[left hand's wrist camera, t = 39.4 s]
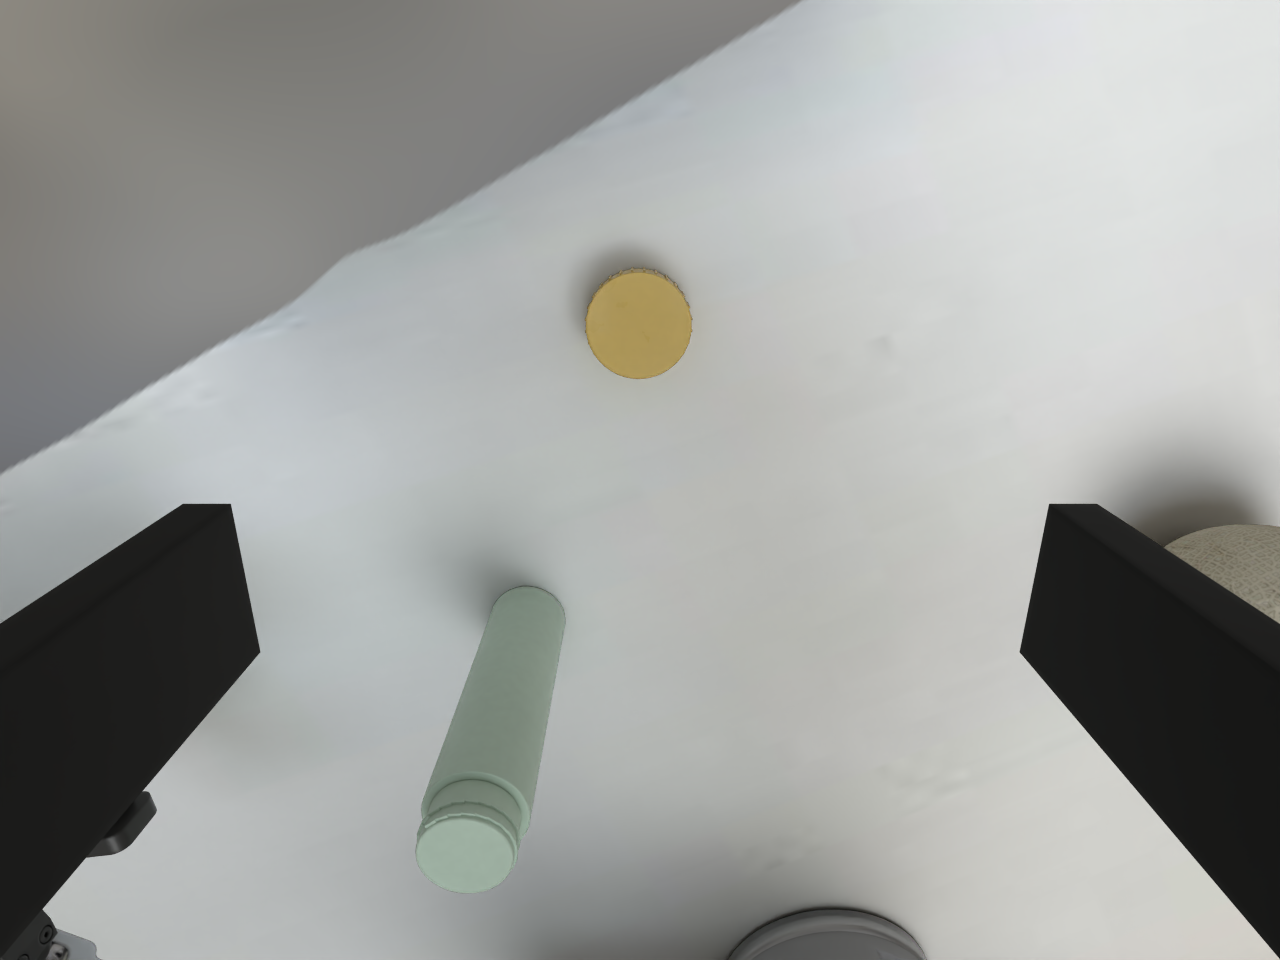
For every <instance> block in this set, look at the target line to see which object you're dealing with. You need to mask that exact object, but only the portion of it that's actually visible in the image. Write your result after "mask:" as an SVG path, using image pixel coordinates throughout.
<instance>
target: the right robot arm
mask: <svg viewBox="0 0 1280 960" xmlns="http://www.w3.org/2000/svg"><path fill="white" fill-rule="evenodd" d="M156 811H157V809H156V806H155V804H154V802H153V800H152V797H151V795H150V793H149V792H146V791H143V792H141V793H140V795H139V796H138V797H137V798H136V799H135V800H134V802H133V803H132V804H131V805H130V806H129V807H128V809H127V810H126V811H125V812H124V813H123V815H122V816H121V817H120V818H119V819H118V820H117V822H116V823H115V824H114V825H113V826H112V828H111V829H110V830H109V831H108V832H107V833H106V835H105V836H104V837H103V838H102V839H101V840H100V842H99V843H98V844H97V845H96V846H95V848H94V849H93V850H92V851H91V852H90V853H89V855H88V856H87V857H95V856H105V855H112V854H116V853H118V852H120V851H122V850H124V849H126V848H127V847H128V846H130V845H131V844H132V843H133V841H134V840H135V839H136V838H137V836H138V835H139V834H140V833H141V831H142V830H143V829H144V828H145V826H146V825H147V824H148V823H149V821H150V820H151V819H152V818H153V816H154V815H155V814H156ZM0 960H101V959H99V958H98V957H97V956H96V945H95V944H94V943H93V942H92V941H89V940H86V939H84V938H81V937H78V936H76V935H73V934H70V933H67V932H65V931H62V930H59V929H56V928H55V926H54V924H53V922H52V921H51V919H50V917H49V916H48V915H47V914H46V913H45V912H44V911H43V910H41V911H40V912H39V914H38V915H37V916H36V917H35V918H34V919H33V921H32V922H31V923H30V924H29V925H28V927H27V928H26V929H25V930H24V931H23V932H22V934H21V935H20V936H19V937H18V938H17V940H16V941H15V942H14V943H13V944H12V945H11V947H10V948H9V949H8V950H7V951H6V953H5V954H4V955H3V956H2V957H1V958H0Z"/></svg>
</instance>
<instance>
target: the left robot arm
mask: <svg viewBox="0 0 1280 960" xmlns="http://www.w3.org/2000/svg"><path fill="white" fill-rule="evenodd" d="M259 653H260V648H259V643H258V638H257V633H256V628H255V623H254V618H253V613H252V608H251V603H250V598H249V593H248V588H247V583H246V578H245V573H244V568H243V563H242V558H241V553H240V548H239V543H238V538H237V533H236V528H235V523H234V518H233V513H232V508H231V504H182V505H181V506H179V507H178V508H176V509H174V510H173V511H171V512H170V513H168V514H167V515H165V516H164V517H162V518H161V519H159V520H158V521H156V522H155V523H153V524H152V525H150V526H149V527H147V528H145V529H144V530H142V531H141V532H139V533H138V534H136V535H135V536H133V537H132V538H130V539H129V540H127V541H126V542H124V543H123V544H121V545H120V546H118V547H117V548H115V549H113V550H112V551H110V552H109V553H107V554H106V555H104V556H103V557H101V558H100V559H98V560H97V561H95V562H94V563H92V564H91V565H89V566H88V567H86V568H84V569H83V570H81V571H80V572H78V573H77V574H75V575H74V576H72V577H71V578H69V579H68V580H66V581H65V582H63V583H62V584H60V585H59V586H57V587H55V588H54V589H52V590H51V591H49V592H48V593H46V594H45V595H43V596H42V597H40V598H39V599H37V600H36V601H34V602H33V603H31V604H30V605H28V606H27V607H25V608H23V609H22V610H20V611H19V612H17V613H16V614H14V615H13V616H11V617H10V618H8V619H7V620H5V621H4V622H2V623H1V624H0V958H1V957H2V956H3V955H4V954H5V953H6V951H7V950H8V949H9V948H10V947H11V945H12V944H13V943H14V942H15V941H16V940H17V938H18V937H19V936H20V935H21V934H22V932H23V931H24V930H25V929H26V928H27V927H28V925H29V924H30V923H31V922H32V921H33V919H34V918H35V917H36V916H37V915H38V914H39V912H40V911H41V910H42V909H43V908H44V907H45V905H46V904H47V903H48V902H49V901H50V899H51V898H52V897H53V896H54V895H55V894H56V892H57V891H58V890H59V889H60V888H61V886H62V885H63V884H64V883H65V882H66V881H67V879H68V878H69V877H70V876H71V875H72V874H73V872H74V871H75V870H76V869H77V868H78V866H79V865H80V864H81V863H82V862H83V861H84V859H85V858H86V857H87V856H88V855H89V853H90V852H91V851H92V850H93V849H94V848H95V846H96V845H97V844H98V843H99V842H100V840H101V839H102V838H103V837H104V836H105V835H106V833H107V832H108V831H109V830H110V829H111V828H112V826H113V825H114V824H115V823H116V822H117V820H118V819H119V818H120V817H121V816H122V815H123V813H124V812H125V811H126V810H127V809H128V807H129V806H130V805H131V804H132V803H133V802H134V800H135V799H136V798H137V797H138V796H139V795H140V793H141V792H142V791H143V790H144V789H145V787H146V786H147V785H148V784H149V783H150V782H151V780H152V779H153V778H154V777H155V776H156V774H157V773H158V772H159V771H160V770H161V769H162V767H163V766H164V765H165V764H166V763H167V761H168V760H169V759H170V758H171V757H172V756H173V754H174V753H175V752H176V751H177V750H178V749H179V747H180V746H181V745H182V744H183V743H184V741H185V740H186V739H187V738H188V737H189V736H190V734H191V733H192V732H193V731H194V730H195V728H196V727H197V726H198V725H199V724H200V723H201V721H202V720H203V719H204V718H205V717H206V716H207V714H208V713H209V712H210V711H211V710H212V708H213V707H214V706H215V705H216V704H217V703H218V701H219V700H220V699H221V698H222V697H223V695H224V694H225V693H226V692H227V691H228V690H229V688H230V687H231V686H232V685H233V684H234V682H235V681H236V680H237V679H238V678H239V677H240V675H241V674H242V673H243V672H244V671H245V670H246V668H247V667H248V666H249V665H250V664H251V662H252V661H253V660H254V659H255V658H256V657H257V655H258V654H259ZM1020 653H1021V654H1022V655H1023V657H1024V658H1025V659H1026V660H1027V661H1028V662H1029V664H1030V665H1031V666H1032V667H1033V668H1034V670H1035V671H1036V672H1037V673H1038V674H1039V675H1040V677H1041V678H1042V679H1043V680H1044V681H1045V682H1046V684H1047V685H1048V686H1049V687H1050V688H1051V690H1052V691H1053V692H1054V693H1055V694H1056V695H1057V697H1058V698H1059V699H1060V700H1061V701H1062V703H1063V704H1064V705H1065V706H1066V707H1067V708H1068V710H1069V711H1070V712H1071V713H1072V714H1073V716H1074V717H1075V718H1076V719H1077V720H1078V721H1079V723H1080V724H1081V725H1082V726H1083V727H1084V728H1085V730H1086V731H1087V732H1088V733H1089V734H1090V736H1091V737H1092V738H1093V739H1094V740H1095V741H1096V743H1097V744H1098V745H1099V746H1100V747H1101V749H1102V750H1103V751H1104V752H1105V753H1106V754H1107V756H1108V757H1109V758H1110V759H1111V760H1112V761H1113V763H1114V764H1115V765H1116V766H1117V767H1118V769H1119V770H1120V771H1121V772H1122V773H1123V774H1124V776H1125V777H1126V778H1127V779H1128V780H1129V782H1130V783H1131V784H1132V785H1133V786H1134V787H1135V789H1136V790H1137V791H1138V792H1139V793H1140V795H1141V796H1142V797H1143V798H1144V799H1145V800H1146V802H1147V803H1148V804H1149V805H1150V806H1151V807H1152V809H1153V810H1154V811H1155V812H1156V813H1157V815H1158V816H1159V817H1160V818H1161V819H1162V820H1163V822H1164V823H1165V824H1166V825H1167V826H1168V828H1169V829H1170V830H1171V831H1172V832H1173V833H1174V835H1175V836H1176V837H1177V838H1178V839H1179V840H1180V842H1181V843H1182V844H1183V845H1184V846H1185V848H1186V849H1187V850H1188V851H1189V852H1190V853H1191V855H1192V856H1193V857H1194V858H1195V859H1196V861H1197V862H1198V863H1199V864H1200V865H1201V866H1202V868H1203V869H1204V870H1205V871H1206V872H1207V874H1208V875H1209V876H1210V877H1211V878H1212V879H1213V881H1214V882H1215V883H1216V884H1217V885H1218V886H1219V888H1220V889H1221V890H1222V891H1223V892H1224V894H1225V895H1226V896H1227V897H1228V898H1229V899H1230V901H1231V902H1232V903H1233V904H1234V905H1235V907H1236V908H1237V909H1238V910H1239V911H1240V912H1241V914H1242V915H1243V916H1244V917H1245V918H1246V919H1247V921H1248V922H1249V923H1250V924H1251V925H1252V927H1253V928H1254V929H1255V930H1256V931H1257V932H1258V934H1259V935H1260V936H1261V937H1262V938H1263V940H1264V941H1265V942H1266V943H1267V944H1268V945H1269V947H1270V948H1271V949H1272V950H1273V951H1274V953H1275V954H1276V955H1277V956H1278V957H1279V958H1280V624H1279V623H1278V622H1276V621H1275V620H1273V619H1272V618H1270V617H1269V616H1267V615H1266V614H1264V613H1263V612H1261V611H1260V610H1258V609H1257V608H1255V607H1254V606H1252V605H1250V604H1249V603H1247V602H1246V601H1244V600H1243V599H1241V598H1240V597H1238V596H1237V595H1235V594H1234V593H1232V592H1231V591H1229V590H1228V589H1226V588H1225V587H1223V586H1221V585H1220V584H1218V583H1217V582H1215V581H1214V580H1212V579H1211V578H1209V577H1208V576H1206V575H1205V574H1203V573H1202V572H1200V571H1199V570H1197V569H1196V568H1194V567H1192V566H1191V565H1189V564H1188V563H1186V562H1185V561H1183V560H1182V559H1180V558H1179V557H1177V556H1176V555H1174V554H1173V553H1171V552H1170V551H1168V550H1167V549H1165V548H1163V547H1162V546H1160V545H1159V544H1157V543H1156V542H1154V541H1153V540H1151V539H1150V538H1148V537H1147V536H1145V535H1144V534H1142V533H1141V532H1139V531H1138V530H1136V529H1135V528H1133V527H1131V526H1130V525H1128V524H1127V523H1125V522H1124V521H1122V520H1121V519H1119V518H1118V517H1116V516H1115V515H1113V514H1112V513H1110V512H1109V511H1107V510H1106V509H1104V508H1102V507H1101V506H1099V505H1098V504H1049V508H1048V513H1047V518H1046V523H1045V528H1044V533H1043V538H1042V543H1041V548H1040V553H1039V558H1038V563H1037V568H1036V573H1035V578H1034V583H1033V588H1032V593H1031V598H1030V603H1029V608H1028V613H1027V618H1026V623H1025V628H1024V633H1023V638H1022V643H1021V648H1020ZM728 960H926V957H925V955H924V953H923V951H922V950H921V948H920V947H919V945H918V944H917V943H916V941H915V940H914V939H913V938H912V937H911V936H910V935H909V934H907V933H906V932H905V931H904V930H902V929H901V928H899V927H898V926H896V925H894V924H892V923H891V922H889V921H887V920H884V919H882V918H879V917H876V916H873V915H870V914H866V913H862V912H857V911H850V910H816V911H809V912H803V913H799V914H795V915H791V916H788V917H785V918H782V919H780V920H777V921H775V922H772V923H770V924H768V925H766V926H764V927H763V928H761V929H759V930H758V931H756V932H755V933H753V934H752V935H750V936H749V937H748V938H747V939H745V940H744V941H743V942H742V943H741V944H740V945H739V946H738V947H737V948H736V949H735V950H734V952H733V953H732V954H731V956H730V957H729V959H728Z"/></svg>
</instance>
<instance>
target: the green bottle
mask: <svg viewBox="0 0 1280 960" xmlns="http://www.w3.org/2000/svg"><path fill="white" fill-rule="evenodd" d="M564 627H565V614H564V611H563V608H562V606H561V605H560V603H559V602H558V600H557V599H556V598H555V597H554V596H552V595H551V594H550V593H548V592H546V591H545V590H542V589H539V588H536V587H527V586H526V587H518V588H514V589H511V590H509V591H507V592H506V593H504V594H503V595H502V596H500V597H499V599H498V600H497V601H496V603H495V604H494V607H493V609H492V612H491V615H490V617H489V620H488V623H487V626H486V628H485V631H484V634H483V636H482V639H481V642H480V645H479V647H478V650H477V653H476V656H475V658H474V661H473V664H472V667H471V669H470V672H469V675H468V678H467V680H466V683H465V686H464V689H463V691H462V694H461V697H460V700H459V702H458V705H457V708H456V711H455V713H454V716H453V719H452V722H451V724H450V727H449V730H448V733H447V735H446V738H445V741H444V743H443V746H442V749H441V752H440V754H439V757H438V760H437V763H436V765H435V768H434V771H433V774H432V776H431V779H430V782H429V785H428V787H427V790H426V793H425V796H424V798H423V802H422V808H421V813H422V819H423V820H422V823H421V825H420V828H419V830H418V833H417V845H416V859H417V863H418V865H419V868H420V869H421V871H422V872H423V874H424V875H425V876H426V877H427V878H428V879H429V880H430V881H431V882H433V883H434V884H436V885H437V886H439V887H441V888H443V889H446V890H449V891H452V892H457V893H468V894H469V893H479V892H483V891H487V890H489V889H492V888H494V887H496V886H497V885H499V884H500V883H501V882H502V881H503V880H504V879H505V878H506V877H507V876H508V874H509V873H510V871H511V870H512V869H513V867H514V865H515V863H516V861H517V856H518V849H519V846H520V840H521V839H522V838H523V837H524V835H525V834H526V832H527V830H528V827H529V823H530V817H531V812H532V806H533V801H534V795H535V789H536V784H537V778H538V773H539V767H540V761H541V756H542V750H543V745H544V739H545V733H546V728H547V722H548V717H549V711H550V706H551V700H552V694H553V689H554V683H555V678H556V672H557V666H558V661H559V655H560V650H561V644H562V638H563V633H564Z"/></svg>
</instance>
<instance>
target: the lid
mask: <svg viewBox="0 0 1280 960" xmlns="http://www.w3.org/2000/svg"><path fill="white" fill-rule="evenodd" d="M684 297H685V295H684V293H683V291H682V292H681V291H680V290H679V289H678V286H677V284H676V283H675V282H674V283H673V282H672V281H671V280H670V279H668V276H667V275H665V276H664V275H662V274H660V273H658V272H657V270H654V271H652V270H648V269H645V267H643V269H634V268H633V267H631V269H629V270H625V271H622V270H620V272H619V273H617V274H615V275H613V276H612V275H610V276H609V279H608V280H607V281H605V282H604V283H601V284H600V286H599V289H598V291H597V292H594V294H593V296H592V298H593V300H592V302H591V303H589V305H588V307H587V309H588V312H587V316H586V318H585V321H586V330H585V333H586V334H587V339H588V344H589V345H590V347H591V349H592V351H593V354H594V355H595V356H596V358H597V359H598V360H599V361H600V362H601V363H602V364H603V365H604V366H605V367H606V368H608V369H609V370H610V371H612V372H614V373H616V374H618V375H620V376H623V377H627V378H633V379H645V378H651V377H654V376H657V375H659V374H662V373H664V372H665V371H667V370H669V369H670V368H671V367H672V366H674V365H675V364H676V363H677V362H678V361H679V359H680V358H681V357H682V355H683V354H684V352H685V350H686V348H687V346H688V344H689V340H690V336H691V332H692V328H691V320H692V316H691V314H690V312H689V308H690V306H689V304H688V302H686V301H685V299H684Z"/></svg>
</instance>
